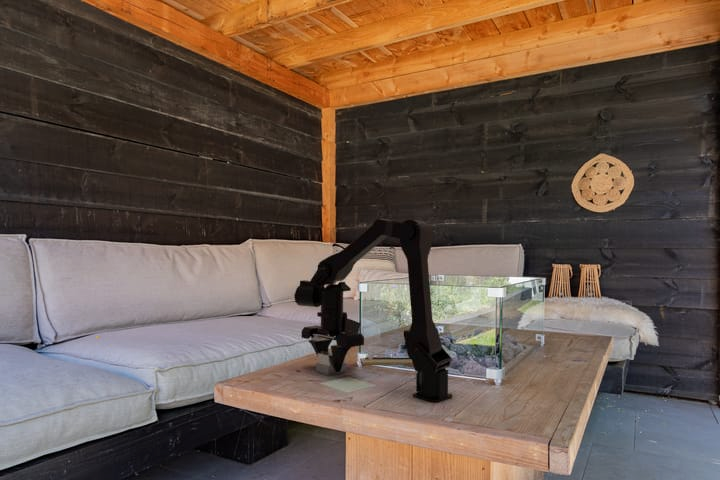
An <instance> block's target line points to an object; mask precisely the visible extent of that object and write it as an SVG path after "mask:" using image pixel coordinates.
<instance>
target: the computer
mask: <svg viewBox="0 0 720 480" xmlns="http://www.w3.org/2000/svg"><path fill="white" fill-rule="evenodd" d="M391 357H392V356H391ZM391 357H390V356H388V357H385V356H384V357H380V356H379V357H372V358H369V357H367V356H366V357H362V358H359V360H360V363H361V366H404V367H408V368H412V369H414V365H413V362H412V359H411V358H407V357H406V358H393V357H394V356H393V357H392V358H391Z"/></svg>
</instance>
